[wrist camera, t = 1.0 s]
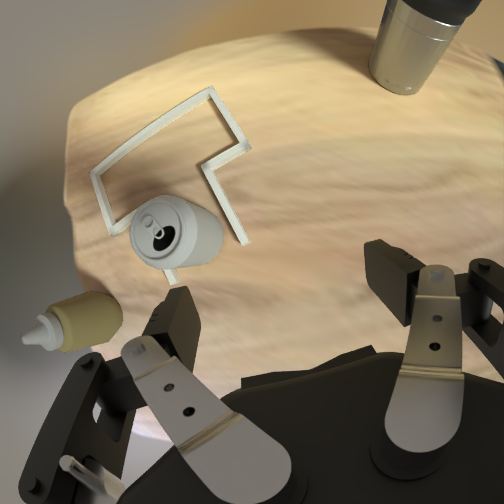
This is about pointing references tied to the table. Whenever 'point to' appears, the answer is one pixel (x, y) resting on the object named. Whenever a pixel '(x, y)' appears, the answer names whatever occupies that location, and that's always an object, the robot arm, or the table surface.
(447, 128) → the table surface
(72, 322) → the squeeze bottle
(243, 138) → the t outline
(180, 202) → the can
